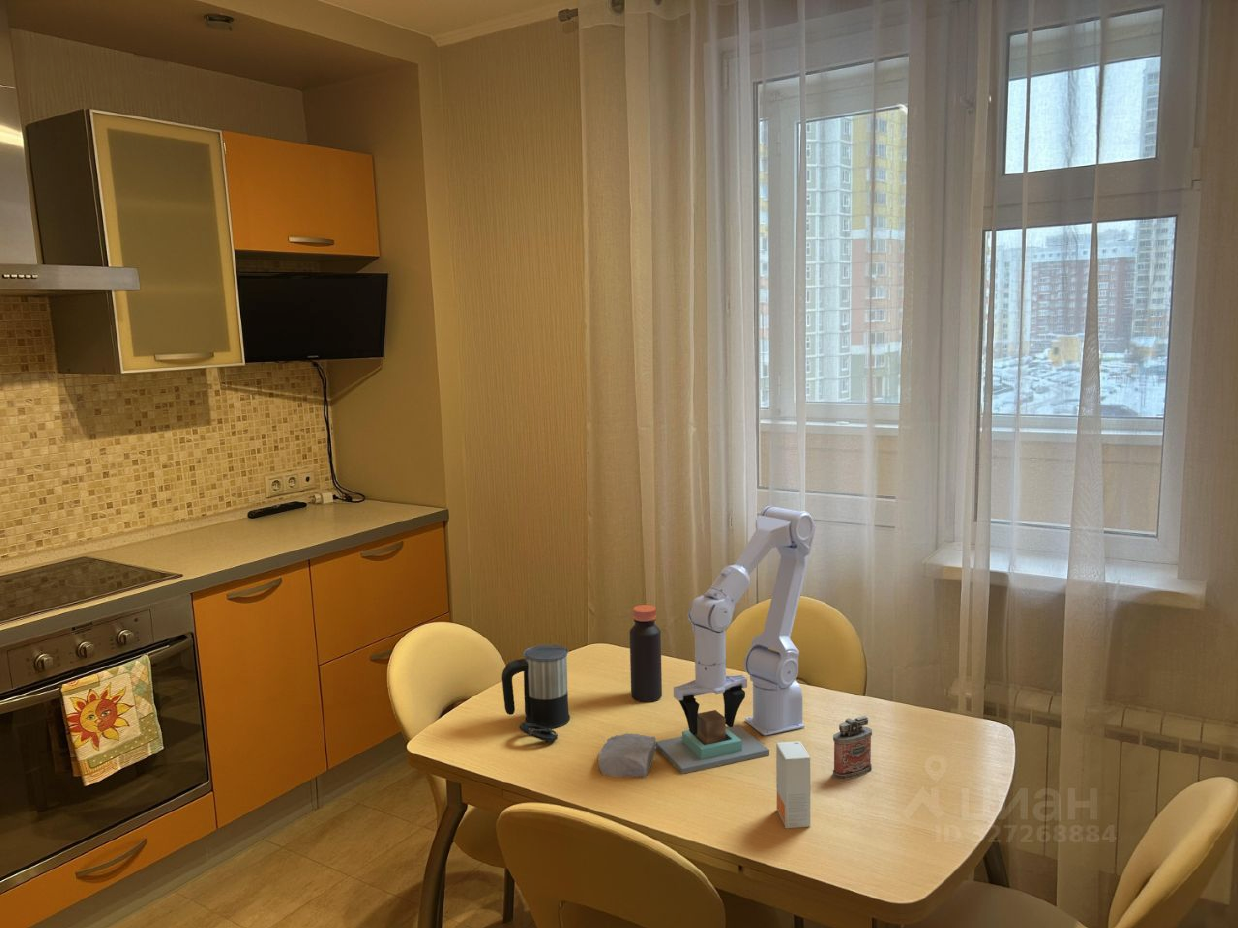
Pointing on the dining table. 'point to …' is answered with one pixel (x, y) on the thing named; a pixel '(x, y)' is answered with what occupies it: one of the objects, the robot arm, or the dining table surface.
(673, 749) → the assembly cradle
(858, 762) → the lighter
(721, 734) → the tall brown post
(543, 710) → the milk frother
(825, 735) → the dining table surface
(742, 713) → the dining table surface
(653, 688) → the bottle
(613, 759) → the stone block
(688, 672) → the dining table surface
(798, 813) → the skincare box
